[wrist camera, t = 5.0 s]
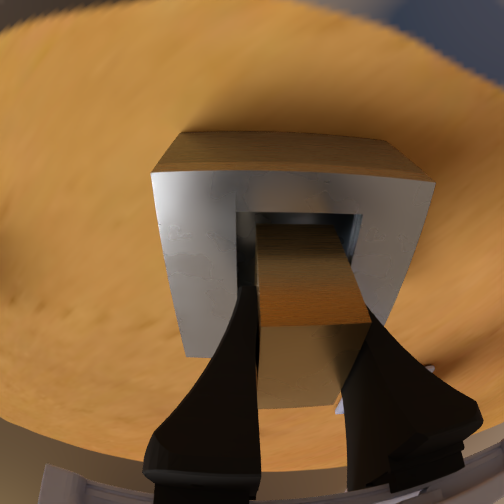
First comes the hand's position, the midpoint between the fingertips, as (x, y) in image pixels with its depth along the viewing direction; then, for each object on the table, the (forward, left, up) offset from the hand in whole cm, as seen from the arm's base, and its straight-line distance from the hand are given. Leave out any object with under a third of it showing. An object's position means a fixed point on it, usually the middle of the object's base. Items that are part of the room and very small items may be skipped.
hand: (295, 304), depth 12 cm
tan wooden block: (0, 0, -2) cm, 2 cm away
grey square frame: (0, 0, -6) cm, 6 cm away
